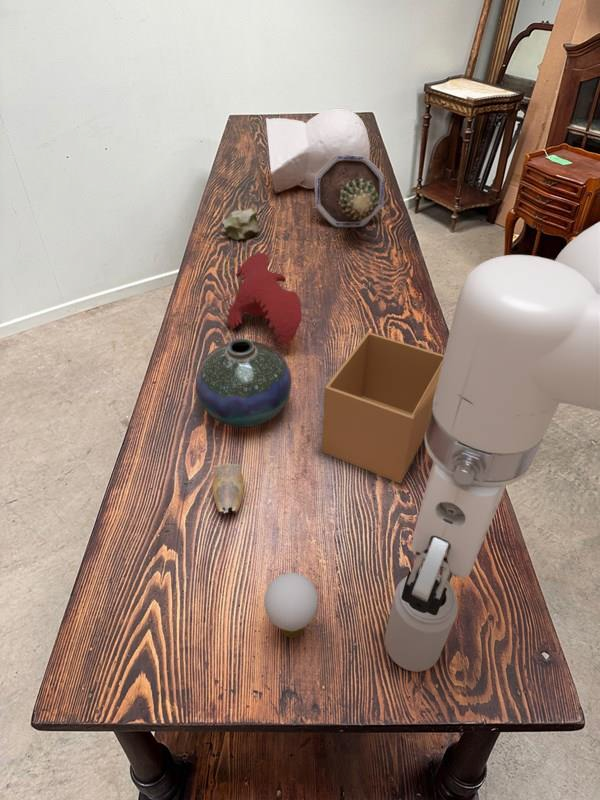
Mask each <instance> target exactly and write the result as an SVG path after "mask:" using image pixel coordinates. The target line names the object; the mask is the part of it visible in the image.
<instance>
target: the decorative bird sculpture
mask: <svg viewBox="0 0 600 800" xmlns="http://www.w3.org/2000/svg"><path fill="white" fill-rule="evenodd" d="M268 261H269V256H268V255H267V254H265V253H264V252H259V253H255V254H253V255H251V256H249V257H248V258H246V260H245V261H244V262H243V263H242V264H241V266H240V267H239V268H238V270H237V271H236V273H235V276H236V278H238V277H239V278H241V281H242V282H241V283H240V285H239V287H238V290H237V293H236V296H235V299H234V302H233V304H229V308H228V309H227V312H228V314H227V315H226V317H227V321H226V322H227V328H230V329H231V330H234V329H235V328H236V327H239V325H240V324H242V317H243V316H244V315H245V314H249V315H250V316H255V317H260V318H265V319H266V320H269V323H268V328H270V329H273V328H274V335H279V337H278V342H279V343H283V344H285V345H287V346H288V345H290V343H291V342H292V341H293V339H294V337H295V336H296V335H297V332H298V329H299V327H300V324H301V322H302V318H303V314H302V313H303V312H302V306H301V305H302V304H301V300H300V298H299V296H298V294H297V292H295V291H291V290H287V289H284V288H283V287H282V286H281V285H280V284H279V282H283V283H285V282H286V278H285V276H284V275H282V273H277V272H272V271H270V270H269V269H268Z"/></svg>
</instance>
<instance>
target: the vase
mask: <svg viewBox="0 0 600 800" xmlns="http://www.w3.org/2000/svg"><path fill="white" fill-rule="evenodd" d="M292 384H293V378H292V372H291V369H290V367H289V364H288V363H287V360H286V359H285V358H284V356H283V355H282V354H280V352H279V351H277V350H275V348H273V347H271V346H269V345H268V344H264V343H262V342H258V341H253V340H249V339H246V338H238V339H234V340H232V341H230V342H228V343H224V344H222V345H220V346H218V347H216V348H215V349H213V350H211V352H209V353H208V354H207V355H206V357H205V358H204V359H203V360H202V361H201V363H200V365H199V367H198V369H197V373H196V377H195V391H196V395H197V398H198V400H199V402H200V404H201V406H202V408H203V409H204V410H205V412H206V413H207V414H208V415H209V416H210V417H212V419H214V420H215V421H217V422H219V423H220V424H222V425H224V426H227V427H231V428H236V429H237V428H238V429H250V428H256V427H259V426H262V425H265V424H267V423H269V422H270V421H272V420H274V418H276V417H277V416H278V415H279V414H280V413H281V412H282V411H283V409H284V408H285V406H286V405H287V403H288V401H289V398H290V395H291V392H292Z"/></svg>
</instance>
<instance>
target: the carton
mask: <svg viewBox="0 0 600 800" xmlns="http://www.w3.org/2000/svg"><path fill="white" fill-rule="evenodd" d="M443 358H444V354H442V353H439V352H437V351H433V350H429V349H425V348H422V347H420V346H416V345H413V344H409V343H406V342H403V341H399V340H397V339H393V338H390V337H386V336H383V335H380V334H378V333H377V334H376V333H373V332H370V331H366V333H365V334H364V336H362V338H361V340H360V341H359V342H358V344H357V345H356V346H355V347H354V349H353V350H352V351H351V352H350V354H349V355H348V356H347V358H346V359H345V360H344V361H343V363H342V364H341V366H340V367H339V368H338V369H337V371H336V372H335V373H334V375H333V376H332V377H331V379H330V380H329V381H328V383H326V385H325V386H324V391H323V392H324V393H323V394H324V395H323V396H324V397H323V415H322V416H323V420H322V440H321V441H322V443H321V453H323V454H325V455H328V456H331V457H333V458H335V459H338V460H340V461H343V462H346V463H348V464H351V465H353V466H356V467H358V468H360V469H363V470H366V471H367V472H371V473H373V474H375V475H378V476H380V477H383V478H385V479H388V480H390V481H392V482H395V483H398V484H402V482H403V480H404V478H405V476H406V474H407V472H408V470H409V468H410V467H411V464H412V462H413V461H414V459H415V457H416V455H417V452H418V451H419V449H420V447H421V446H422V443H423V441H424V437H425V432H426V427H427V424H428V420H429V415H430V411H431V407H432V403H433V399H434V395H435V394H434V395H433V397H432V398H431V399H430V400H429V401H428V402H427V404H426V405H425V406H424V407H423V408H422V410H421V411H420V412H419V413H418V414H417V416H415V415H414V413H415V411H416V409H417V407H418V406H419V404H420V402H421V400H422V398H423V397H424V395H425V393H426V391H427V389H428V388H429V386H430V384H431V382H432V380H433V379H434V377H435V375H436V373H437V371H438V370H439V368H440V366H441V364H442V362H443Z"/></svg>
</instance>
